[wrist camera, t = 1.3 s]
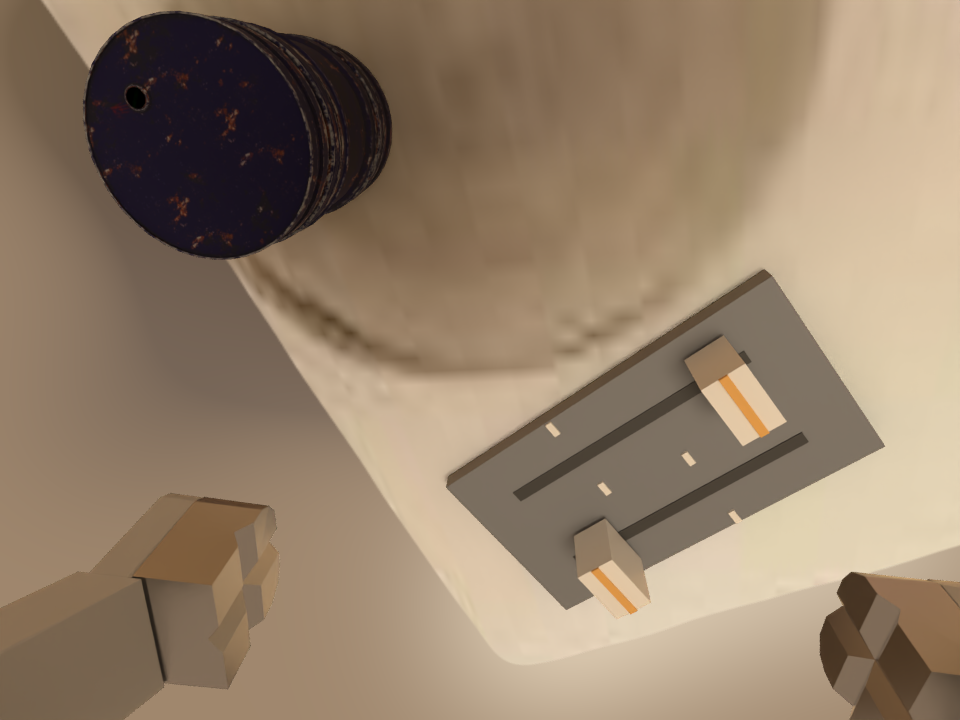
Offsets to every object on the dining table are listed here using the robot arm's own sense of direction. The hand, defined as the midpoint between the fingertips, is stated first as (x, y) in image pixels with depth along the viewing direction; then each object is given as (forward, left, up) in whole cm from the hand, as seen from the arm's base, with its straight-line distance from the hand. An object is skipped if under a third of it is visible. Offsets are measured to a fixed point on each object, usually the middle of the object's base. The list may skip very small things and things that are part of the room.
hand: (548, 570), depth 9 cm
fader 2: (-3, +17, -31) cm, 36 cm away
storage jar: (+8, -12, -33) cm, 36 cm away
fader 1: (+12, +25, -31) cm, 42 cm away
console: (+5, +21, -33) cm, 40 cm away
